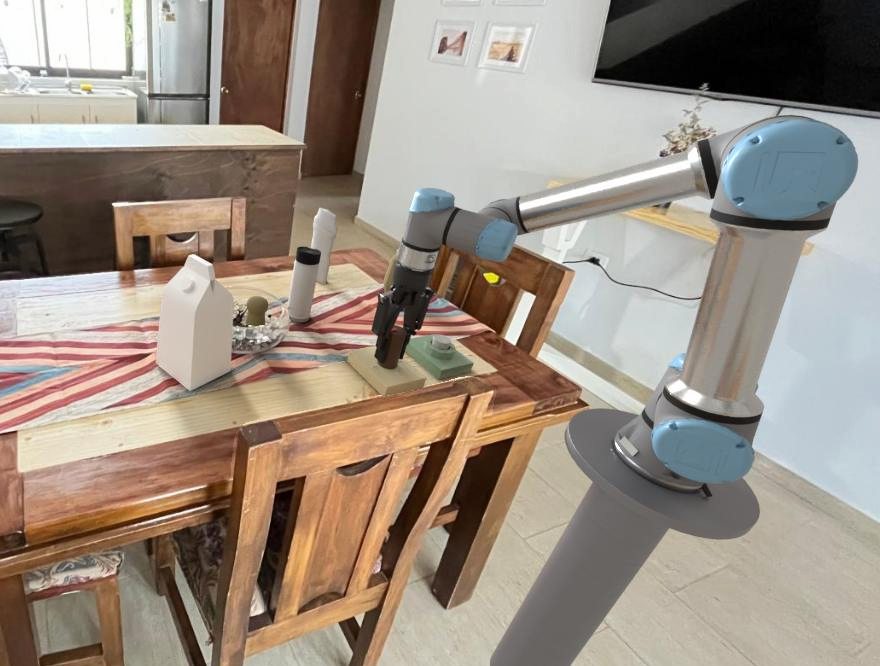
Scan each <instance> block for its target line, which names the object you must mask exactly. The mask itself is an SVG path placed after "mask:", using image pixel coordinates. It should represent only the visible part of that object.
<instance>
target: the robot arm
mask: <svg viewBox="0 0 880 666" xmlns="http://www.w3.org/2000/svg"><path fill="white" fill-rule="evenodd" d="M858 156H859V155H858V153H857V151H856V147H855V145H854V143H853V141H852V140H851V138H849V137H848V135H847V134H846V133H845V132H844V131H843V130H841V129H840V128H838V127H836V126H833V125H832V124H830V123H827V122H823V121H821V120H818V119H814V118H812V117H808V116H804V115H797V114H780V115H779V114H778V115H774V116H769V117H765V118H762V119H759V120H756V121H753V122H751V123H748V124H746V125H743V126H740V127H738V128H734V129H732V130H729V131H726V132H723V133H721V134H717V135H713V136H711V137H708V138H705V139H701V140H697V141H694V142H693V144H692V145H691V146H690V147H689V148H688V149H687V150H685V151H681V152H678V153H673V154H670V155H666V156H662V157H659V158H655V159H651V160H648V161H643V162H641V163H637V164H633V165H629V166H625V167H622V168H618V169H616V170H615V169H614V170H610V171H607V172H602V173H600V174H595V175H592V176H588V177H585V178H581V179H578V180H574V181H570V182H566V183H563V184H559V185H555V186H552V187H548V188H544V189H540V190H536V191H533V192H529V193H526V194H525V193H524V194H521V195H519V196H515V197H511V198H499V199H497V200H494V201H491V202H490V203H488V204H487V205H485V206H484V207H483V208H482V209H480V210H478V211H477V212H475V211H471V210H466V209H463V208H460V207H458V206H455V200H456V197H455V195H454V194H453V193H451V192H450V191H446V190H444V189H441V188H435V187H423V188H422V187H421V188H419V189H417V190H416V191H415V193H414V195H413V198H412V201H411V204H410V207H409V209H408V213H407V218H406V222H405V226H404V229H403V230H404V231H403V234H402V238H401V241H400V244H399V247H398V249H399V252H398V256H397V260H398V261H396V263H395V267H394V271H393V275H392V277H393V284H392V286H391V287H390V290H389V291H388V292H386V293H385V292H382V291H379V292H378V293H377V306H376V309H375V313H374V318H373V321H372V326H371V329H370V330H371V332H372V333H373V334H374V335H376V337H377V338H376V341H375V346H376V347H377V348H376V351H375V355H374V357H375V358H376V359H377V360H378V361H379V362H380V363H384V362H385V358H386V355H387V351H388V347H389V344H390V340H391V338H390V337H389V334H390V332H391V330H392V328H393V326H394V325H396V322H397V320H398V318H399V315H400V313H402V312H403V321H402V327H403V328H404V329H405V330H406V331H407V333H406V337H405V340H404V344H403V347H402V351H401V354H400V357H399V359H400V360H401V359H403V358H404V357H405V353H406V351H405V350H406V347H407V345H408V344H409V341H410V338H412V336H413V337H414V336H416V335H417V334H418V332H417V331H420V330H422V327H423V324H424V322H425V319H426V315H427V312H428V308H429V305H430V303H431V300H432V298H433V297H434V295H435V291H434V290H433V289H431V288H430V287H429V285H430V284H431V283H430V282H431V279H432V277H433V273H434V268H435V265H436V262H437V259H438V255H439V252H440V249H441V248H442V247H441V246H445V247H447V248H450V249H453V250H457V251H460V252H463V253H466V254H468V255H472V256H473V257H477V258H479V259H481V260H487V261H491V262H495V263H502V262H505V261H506V260H507V258H509V257H508V256H509V255H510V253H511V252H512V250H513V247H514V245H515V242H516V240H517V237H518V236H522V235H527V234H530V233H534V232H538V231H543V230H547V229H548V230H549V229H552V228H556V227H562V226H565V225H566V226H567V225H571V224H575V223H580V222H585V221H589V220H594V219H598V218H603V217H607V216H612V215H617V214H620V213H621V214H622V213H625V212H630V211H635V210H641V209H643V208H648V207H653V206H658V205H664V204H667V203H672V202H676V201H681V200H686V199H689V198H694V197H699V198H703V199H705V200H709V201H710V200H713V202H712V205H711V210H710V211H709V217H708V220H709V221H710V222H711V223H712V224H713V225H714V226H715V227H716V228H717V229H718V231H719V232H718V236H717V240H716V243H715V247H714V250H713V253H712V258H711V260H710V265H709V269H708V272H707V274H706V275H707V276H706V278H705V283H704V287H703V290H702V294H701V297H700V301H699V303H698V304H699V305H698V309H697V312H696V315H695V319H694V322H693V326H692V330H691V333H690V337H689V341H688V345H687V348H686V351H685V352H683V353H679V354H677V355H676V356H675V357H674V358H673V359H672V361H671V362H670V363H668V364H667V366H668V367H667V369H666V371H665V372H664V373H663V376H662V378H661V379H660V380H659V382H658V384H657V386H656V388H655V389H654V391H653V393H652V394H651V396H650V398H649V400H647V403H646V404H645V406H644V408H643V410H642V411H641V412H640V414H638V415H639V416H638V417H636V418H635V419H633V420H632V421H631V422H629V423H628V424H626V425H625V426H624V427H622V428H621V429H620V430H618V431H617V433H616V434H615V436H614V438H613V439H612V447H613V450H614V452H615V453H616V455H617V456H618V457H619V459H620V460H621V461H622V462H623V463H624V464H625V465H626V466H628V467H629V468H630V469H631V470H633V471H634V472H635V473H637V474H638V475H640V476H641V477H643V478H645V479H646V480H648V481H650V482H652V483H654V484H656V485H659V486H661V487H664V488H666V489H669V490H673V491H676V492H681V493H698V492H701V491H702V490H703V492H704V493H705V495H706V497H712V494H711V492H710V490H709V488H708V486H707V484H708V483H713V484H719V483H723V482H729V481H730V482H732V481H735V480H738V479H740V478H744V477H745V476H746V475H748V473H749V472H750V471H751V469H752V468H753V465H754V462H755V459H756V456H755V454H756V453H755V449H754V447H753V443H754V439H755V436H756V433H757V430H758V428H759V425H760V421H761V419H762V415H763V413H764V410H765V404H764V402H763V401H762V399H761V398H760V397H759V396H758V395H757V394H756V393H757V392H758V389H759V379H760V376H761V373H762V371H763V367H764V365H765V362H766V358H767V357H768V353H769V350H770V346H771V344H772V341H773V338H774V335H775V332H776V329H777V326H778V323H779V320H780V317H781V314H782V311H783V309H784V305H785V303H786V300H787V296H788V294H789V292H790V291H789V290H790V287H791V285H792V282H793V279H794V276H795V273H796V270H797V267H798V265H799V261H800V259H801V255H802V253H803V249H804V247H805V244H806V241H807V240H809V239H810V238H812V237H814V236H816V235H818V234H820V233H822V232H824V231H827V229H828V227H829V224H830V221H831V219H832V216H833V214H834V211H835V207H836V205H837V202H838V201H839V200H840V199H842V198H843V196H844V195H845V194H846V193H847V192H848V191H849V189H850V188H851V186H852V185H853V183H854V181H855V179H856V177H857V173H858V170H859V169H858V168H859V157H858Z"/></svg>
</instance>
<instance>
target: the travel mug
mask: <svg viewBox="0 0 880 666" xmlns="http://www.w3.org/2000/svg"><path fill="white" fill-rule="evenodd" d="M320 257H321V251H320V250H318V249H312V248H311V247H309V246H297V248H296V253H295V257H294V263H293V270H292V275H291V281H290V288H289V293H288V301H287V307H286V312H287V313H288V315H289V319H288V320H290V321H292V322H295V323H306V322H308V321H310V318H311V313H312V306H313V301H314V296H315V290H316V285H317V281H316V280H317V275H318V269H319V264H320Z"/></svg>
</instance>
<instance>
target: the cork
mask: <svg viewBox="0 0 880 666" xmlns="http://www.w3.org/2000/svg"><path fill="white" fill-rule="evenodd" d="M268 309H269V301H268V300H267V298H265V297H263V296H261V295H252V296H250V297H249V298H248V299H247V300H246V310H247V312H246V316H245V320H244V323H246V324H247V325H254V326H259V325H265V326H266V313H267V311H268Z"/></svg>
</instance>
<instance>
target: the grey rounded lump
mask: <svg viewBox="0 0 880 666" xmlns="http://www.w3.org/2000/svg"><path fill="white" fill-rule="evenodd" d="M450 343H452V340H451V338H450V337H448V336H447V335H444V334H439V333H438V334H437V333H436V335H434V337H433V340H432V346H434V347H435V348H437V349H440V350H448V349H449V346H450Z"/></svg>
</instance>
